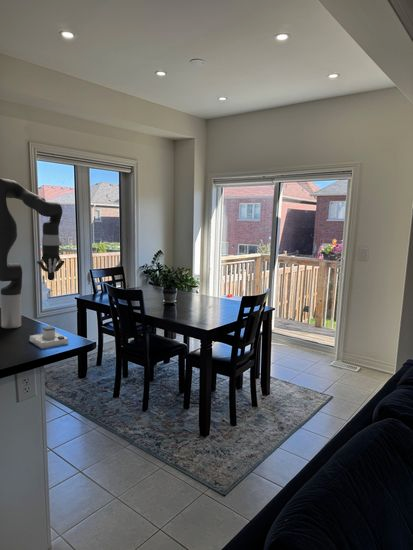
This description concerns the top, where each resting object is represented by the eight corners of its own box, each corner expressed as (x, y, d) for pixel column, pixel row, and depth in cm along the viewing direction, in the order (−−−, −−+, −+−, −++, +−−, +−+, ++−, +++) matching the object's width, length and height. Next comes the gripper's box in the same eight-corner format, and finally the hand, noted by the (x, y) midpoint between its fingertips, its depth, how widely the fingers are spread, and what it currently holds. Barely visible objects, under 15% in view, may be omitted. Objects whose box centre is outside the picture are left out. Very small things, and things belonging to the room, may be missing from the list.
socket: (29, 341, 175) (29, 334, 175) (55, 336, 183) (55, 330, 183) (41, 348, 165) (41, 341, 165) (68, 343, 173) (68, 337, 173)
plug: (42, 342, 174) (42, 327, 173) (51, 340, 177) (51, 326, 176) (46, 344, 171) (46, 329, 170) (54, 342, 174) (54, 328, 173)
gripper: (61, 243, 189) (61, 278, 191) (33, 243, 179) (33, 280, 182) (67, 244, 183) (67, 280, 186) (39, 244, 174) (40, 282, 176)
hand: (51, 280), depth 184 cm, fingers closed
